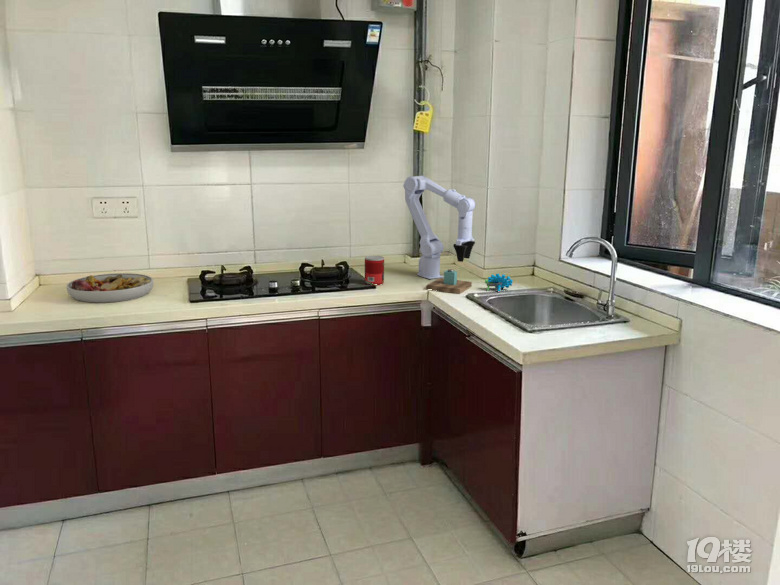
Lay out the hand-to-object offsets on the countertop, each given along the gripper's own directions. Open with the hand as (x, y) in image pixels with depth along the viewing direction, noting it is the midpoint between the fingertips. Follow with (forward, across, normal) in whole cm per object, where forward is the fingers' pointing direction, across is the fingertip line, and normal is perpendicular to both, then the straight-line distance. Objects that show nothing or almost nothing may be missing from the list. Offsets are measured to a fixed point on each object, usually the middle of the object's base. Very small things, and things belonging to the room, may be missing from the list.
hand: (463, 259), depth 269 cm
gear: (+10, -7, -18) cm, 21 cm away
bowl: (+10, -86, +109) cm, 139 cm away
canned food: (+10, -21, +31) cm, 39 cm away
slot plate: (+9, -13, +1) cm, 16 cm away
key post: (+9, -13, 0) cm, 16 cm away
